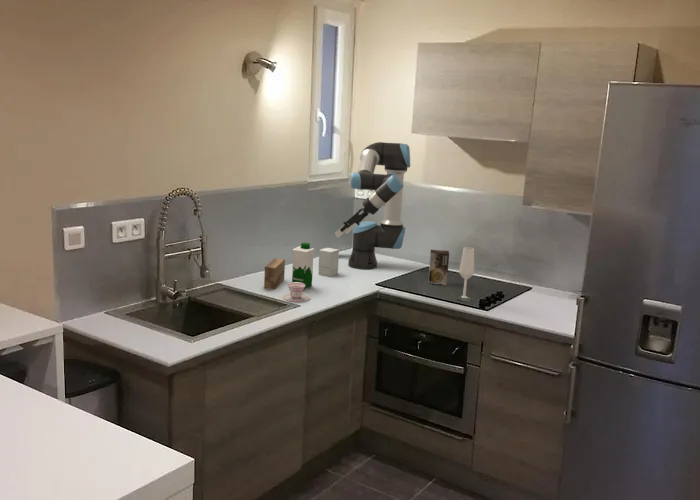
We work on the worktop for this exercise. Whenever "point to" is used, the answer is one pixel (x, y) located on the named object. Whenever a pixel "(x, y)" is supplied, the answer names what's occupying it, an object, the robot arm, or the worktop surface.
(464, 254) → the champagne flute
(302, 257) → the soya milk
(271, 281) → the board
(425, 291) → the worktop surface
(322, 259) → the supplement box
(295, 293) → the teacup
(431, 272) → the coffee box
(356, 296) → the worktop surface
